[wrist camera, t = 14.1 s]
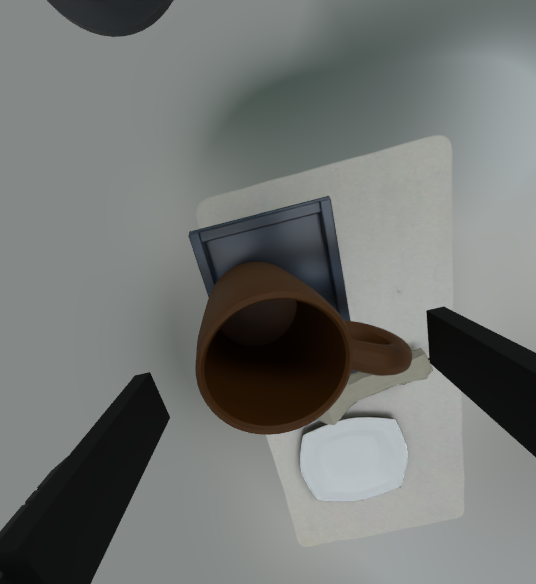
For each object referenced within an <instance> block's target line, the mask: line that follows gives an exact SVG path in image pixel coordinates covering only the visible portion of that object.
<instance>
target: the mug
mask: <svg viewBox="0 0 536 584" xmlns="http://www.w3.org/2000/svg"><path fill="white" fill-rule="evenodd" d="M411 362H412V351H411V349H410V347H409V346H408V344H407V343H406V342H405V341H404V340H402V339H401V338H400V337H398V336H396V335H395V334H393V333H391V332H388V331H386V330H384V329H381V328H378V327H375V326H372V325H368V324H364V323H359V322H353V321H343V319H342V317H341V316H340V315H339V314H338V312H337V311H336V310H335V309H334V308H333V307H332V306H331V305H330V304H329V303H328V302H327V301H326V300H325V299H324V298H323V297H322V296H321V295H320V294H319V293H317V292H316V291H315V290H314V289H312V288H311V287H310V286H308V285H307V284H305V283H304V282H302V281H301V280H299V279H298V278H296V277H295V276H293V275H292V274H290V273H289V272H287V271H286V270H284V269H282V268H281V267H278V266H276V265H274V264H270V263H266V262H248V263H244V264H241V265H238V266H236V267H234V268H232V269H230V270H229V271H227V272H226V273H225V274H224V275H223V276H222V277H220V279H219V280H218V281H217V282H216V284H215V285H214V287H213V289H212V291H211V293H210V296H209V299H208V302H207V306H206V309H205V313H204V316H203V320H202V324H201V328H200V332H199V335H198V342H197V355H196V378H197V384H198V387H199V390H200V393H201V395H202V397H203V399H204V401H205V402H206V404H207V405H208V406H209V407H210V409H211V410H212V412H213V413H215V415H217V416H218V417H219V418H220V419H221V420H223V421H224V422H225V423H227V424H229V425H230V426H232V427H234V428H237V429H239V430H242V431H246V432H249V433H255V434H280V433H285V432H290V431H293V430H296V429H299V428H301V427H303V426H306V425H308V424H309V423H311V422H313V421H315V420H316V419H318V418H319V417H320V416H322V415H323V414H324V413H325V412H326V411H328V410H329V409H330V408H331V407H332V406H333V404H334V403H335V402H336V401H337V400H338V398H339V397H340V395H341V394H342V392H343V390H344V389H345V387H346V385H347V382H348V380H349V377H350V374H351V370H352V371H357V372H362V373H366V374H371V375H377V376H388V375H396V374H400V373H403V372H405V371H406V370H407V369H408V368H409V367H410V365H411Z"/></svg>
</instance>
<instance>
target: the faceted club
mask: <svg viewBox="0 0 536 584" xmlns="http://www.w3.org/2000/svg"><path fill="white" fill-rule="evenodd" d="M411 351H412V362H411V365H410V367H409V368H408V369H407V370H406V371H405V372H403V373H400V374H396V375H388V376H377V375H371V374H366V373H362V372H357V373H353V374H350V377H349V380H348V382H347V385H346V387H345V389H344V390H343V392H342V394H341V395H340V397H339V398H338V400H337V401H336V402H335V403H334V404H333V406H332V407H331V408H330V409H329V410H328V411H326V412H325V413H324V414H323V415H322V416H320V417H319V418H318V419H319V420H320V421H322V422H324V423H325V424H330V425H335V424H336V423H337V422H338V421H339V420H340V419H341V418H342V416H343V415H344V413H345V412H346V411H347V409H348V408H350V407H351V406H352V405H353V404H355V403H356V402H357V401H359V400H360V399H363V398H365V397H368V396H370V395H373V394H376V393H378V392H381V391H383V390H386V389H388V388H391V387H393V386H396V385H398V384H399V385H404V384H407V383H409V382H412V381H415V380H422V379H427V377H428V375H429V374H430V373H431V372H432V371H433V369H432V366H431V364H430V362H429V360H430V358H427V355H426V353H425V352H424V351H423V350H422V349H421V348H419V349H416V350H411Z"/></svg>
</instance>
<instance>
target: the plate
mask: <svg viewBox="0 0 536 584" xmlns="http://www.w3.org/2000/svg"><path fill="white" fill-rule="evenodd" d="M407 462H408V450H407V445H406V442H405V439H404V437H403V434H402V432H401V430H400V428H399V426H398V424H397V422H396V421H395V419H391V418H378V417H355V418H347V419H342V420H339V421H338V422H337V423H336V424H335V425H330V424H326V425H324V426H321V427H319V428H317V429H315V430H312V431H310V432H308V433H306V434H304V435H303V438H302V443H301V451H300V468H301V473H302V476H303V478H304V480H305V482H306V484H307V486H308V487H309V489H310V490H311V492H312V493H313V495H314V496H315V497H316V499H317V500H324V501H357V500H363V499H368V498H371V497H375V496H378V495H381V494H383V493H386V492H389V491H391V490H394V489H396V488H398V487H401V484H402V481H403V478H404V475H405V471H406V467H407Z"/></svg>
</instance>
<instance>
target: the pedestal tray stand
mask: <svg viewBox="0 0 536 584" xmlns="http://www.w3.org/2000/svg"><path fill="white" fill-rule="evenodd" d="M189 238H190V242H191V245H192V248H193V251H194V254H195V257H196V260H197V263H198V266H199V269H200V272H201V275H202V278H203V281H204V284H205V288H206V291H207V294H208V297H209V296H210V293H211V291H212V289H213V287H214V285H215V284H216V282H217V281H218V280H219V279H220V277H222V276H223V275H224V274H225V273H226V272H227V271H229V270H230V269H232V268H234V267H236V266H238V265H241V264H244V263H248V262H266V263H270V264H274V265H276V266H278V267H281V268H282V269H284V270H286V271H287V272H289V273H290V274H292V275H293V276H295V277H296V278H298V279H299V280H301V281H302V282H304V283H305V284H307V285H308V286H310V287H311V288H312V289H314V290H315V291H316V292H317V293H319V294H320V295H321V296H322V297H323V298H324V299H325V300H326V301H327V302H328V303H329V304H330V305H331V306H332V307H333V308H334V309H335V310H336V311H337V312H338V314H339V315H340V316H341V317H342V319H343V321H350V315H349V309H348V303H347V297H346V291H345V285H344V279H343V272H342V266H341V260H340V254H339V248H338V242H337V236H336V229H335V223H334V217H333V211H332V205H331V199H330V197H329V196H327V197H323V198H319V199H315V200H311V201H307V202H303V203H299V204H295V205H292V206H288V207H284V208H280V209H276V210H272V211H268V212H264V213H260V214H257V215H253V216H249V217H245V218H241V219H237V220H233V221H229V222H226V223H222V224H218V225H214V226H210V227H206V228H202V229H198V230H194V231H191V232H189ZM356 372H357V371H352V370H351V373H356Z"/></svg>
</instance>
